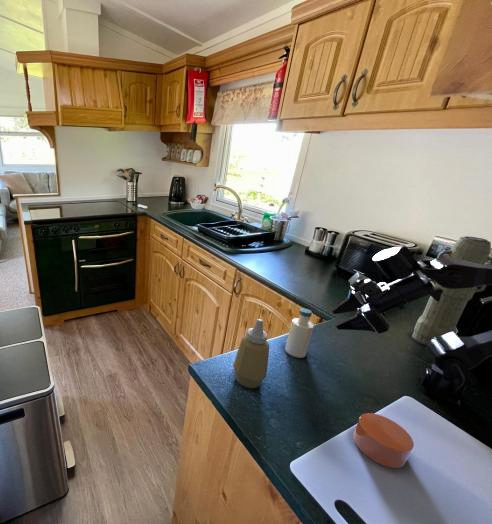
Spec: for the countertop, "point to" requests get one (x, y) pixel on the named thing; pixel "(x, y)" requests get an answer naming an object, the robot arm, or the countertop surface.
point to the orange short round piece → (383, 440)
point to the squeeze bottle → (252, 357)
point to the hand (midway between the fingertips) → (334, 319)
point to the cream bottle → (300, 334)
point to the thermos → (451, 293)
